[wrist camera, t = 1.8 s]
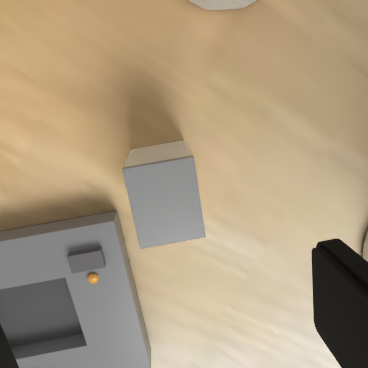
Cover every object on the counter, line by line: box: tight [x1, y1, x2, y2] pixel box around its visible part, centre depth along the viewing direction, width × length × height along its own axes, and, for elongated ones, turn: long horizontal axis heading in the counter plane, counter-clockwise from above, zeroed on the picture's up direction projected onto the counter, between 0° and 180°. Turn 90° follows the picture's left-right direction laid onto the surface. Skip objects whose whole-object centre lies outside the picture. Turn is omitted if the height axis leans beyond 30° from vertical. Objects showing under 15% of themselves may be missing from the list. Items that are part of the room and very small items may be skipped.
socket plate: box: [0, 211, 151, 368], centre depth 25 cm, size 16×14×3 cm
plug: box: [122, 140, 206, 249], centre depth 21 cm, size 4×5×6 cm
